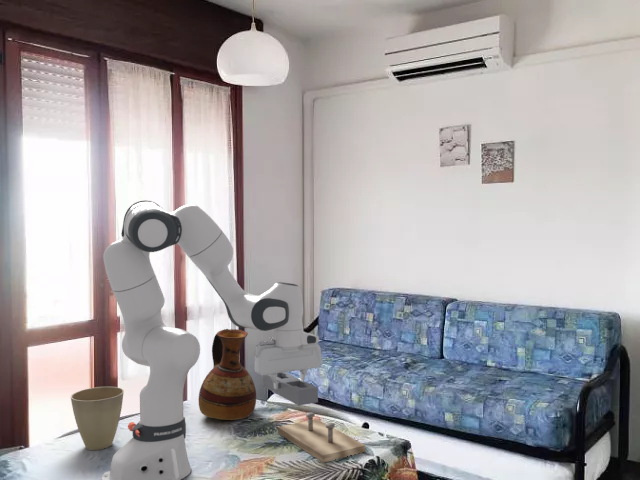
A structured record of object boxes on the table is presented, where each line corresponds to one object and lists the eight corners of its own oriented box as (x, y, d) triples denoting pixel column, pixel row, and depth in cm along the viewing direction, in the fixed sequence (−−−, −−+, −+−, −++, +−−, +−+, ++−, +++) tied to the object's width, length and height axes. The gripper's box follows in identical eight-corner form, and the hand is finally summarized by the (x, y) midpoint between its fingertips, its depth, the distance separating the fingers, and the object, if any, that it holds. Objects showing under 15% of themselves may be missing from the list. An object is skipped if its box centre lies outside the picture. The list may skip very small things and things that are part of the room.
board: (323, 462, 161) (322, 436, 160) (278, 433, 185) (277, 410, 185) (365, 452, 168) (365, 427, 167) (316, 425, 192) (316, 403, 192)
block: (298, 405, 158) (298, 390, 158) (263, 386, 178) (262, 373, 178) (317, 402, 161) (317, 387, 161) (281, 383, 181) (280, 370, 181)
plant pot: (63, 446, 177) (62, 393, 177) (111, 433, 188) (109, 384, 187) (85, 459, 167) (83, 403, 166) (134, 445, 177) (132, 392, 177)
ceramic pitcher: (219, 430, 189) (217, 337, 188) (187, 416, 204) (185, 330, 203) (268, 416, 202) (266, 329, 202) (234, 404, 217) (233, 323, 216)
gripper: (259, 344, 161) (260, 394, 161) (323, 336, 171) (324, 384, 172) (250, 340, 167) (251, 389, 167) (313, 333, 177) (313, 379, 177)
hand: (288, 386), depth 169 cm, fingers closed on block, 6 cm apart
